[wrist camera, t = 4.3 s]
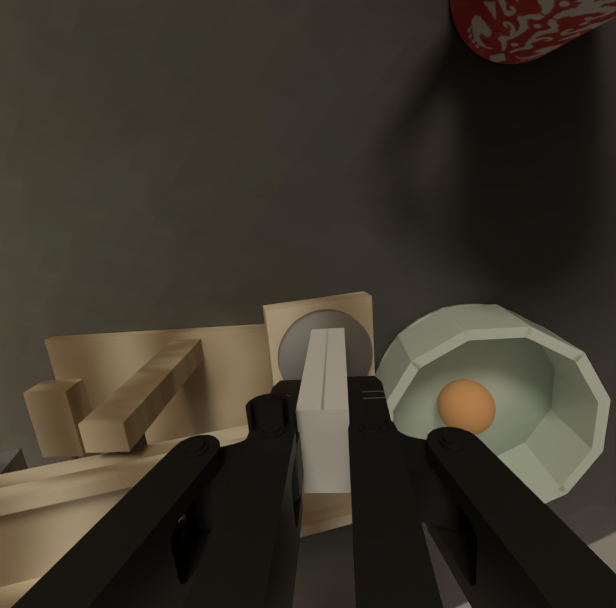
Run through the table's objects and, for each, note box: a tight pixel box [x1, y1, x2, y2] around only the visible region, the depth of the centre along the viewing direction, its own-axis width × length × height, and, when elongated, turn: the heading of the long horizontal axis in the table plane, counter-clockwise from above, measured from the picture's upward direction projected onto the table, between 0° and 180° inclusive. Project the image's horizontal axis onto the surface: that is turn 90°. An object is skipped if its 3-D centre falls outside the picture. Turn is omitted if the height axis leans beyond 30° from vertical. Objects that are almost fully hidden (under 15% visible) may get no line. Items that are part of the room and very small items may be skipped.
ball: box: [437, 379, 496, 435], centre depth 24 cm, size 3×3×3 cm
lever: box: [0, 291, 375, 608], centre depth 18 cm, size 24×12×6 cm, turn 95°
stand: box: [23, 324, 272, 459], centre depth 23 cm, size 17×11×11 cm, turn 95°
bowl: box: [375, 303, 611, 503], centre depth 24 cm, size 12×12×5 cm
